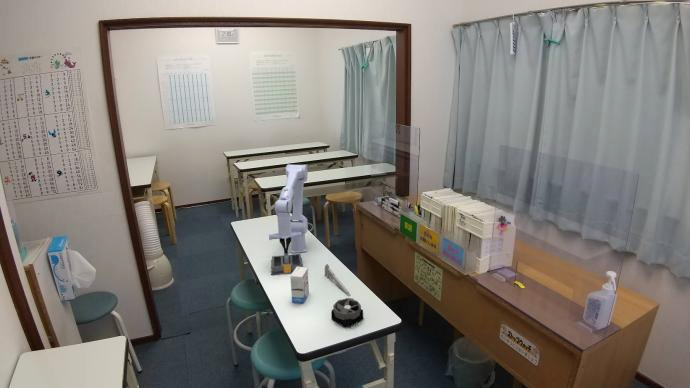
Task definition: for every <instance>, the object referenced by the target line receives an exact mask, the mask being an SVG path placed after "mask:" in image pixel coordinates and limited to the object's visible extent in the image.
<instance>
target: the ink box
mask: <svg viewBox="0 0 690 388" xmlns="http://www.w3.org/2000/svg"><path fill="white" fill-rule="evenodd" d="M308 268H309V267H304V266H303V267H296V269H295V270H294V271H293V273H291V274H290V275H289V276H290V287H291V288H290V291H291V303H294V304H295V303H296V304H304V303H305V301H306V299H307V297H308V295H309V293H310V288H309V286H310V285H309V284H310V283H309V269H308Z"/></svg>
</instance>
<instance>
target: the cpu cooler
mask: <svg viewBox="0 0 690 388" xmlns="http://www.w3.org/2000/svg"><path fill="white" fill-rule="evenodd" d="M332 307H333V308H332V309H331V315H330V316H331V320H332V321H333V322H335V323H337V324H339V325H340V326H341V327H343V328H345V329H346V328H349V329H350V328H351V327H353V326H354V325H356V324H358V323H359V322H361V321H362V320H364V309H362V305H361V304H360V302H359V301H358V300H356V299H354V298H353V297H345V298H343V299H338V300H337V301H336V302H335V303H334V304H333V305H332Z"/></svg>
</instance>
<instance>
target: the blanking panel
mask: <svg viewBox="0 0 690 388" xmlns="http://www.w3.org/2000/svg"><path fill="white" fill-rule="evenodd" d="M283 255H284V261H285V264H289V255H290V254H289V252H288V253H285V252H284V251H283Z"/></svg>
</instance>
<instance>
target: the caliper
mask: <svg viewBox="0 0 690 388" xmlns="http://www.w3.org/2000/svg"><path fill="white" fill-rule="evenodd" d="M324 276H326V278H330V279H331V280H334V282H335V283H336V285H337V286H338V287H339V289H341V291H342V292H343V293H344V294H345V295H346V296H348V297H351V294H350V291H349V290H348V289H347V288H346V287H345V285H344V284H343V283H342V282H341V281H340V280H339V278H338V276H336V275H335V273H334V271H333V270H332V269H331V268H330V265H329V263H326V264H325V265H324Z"/></svg>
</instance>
